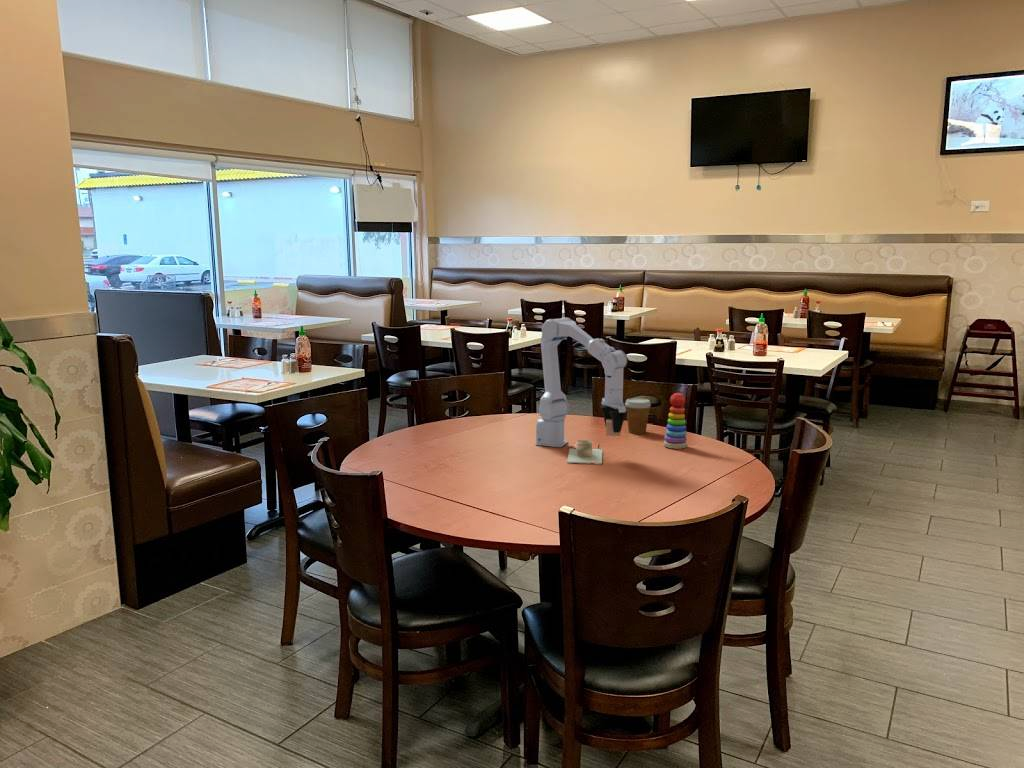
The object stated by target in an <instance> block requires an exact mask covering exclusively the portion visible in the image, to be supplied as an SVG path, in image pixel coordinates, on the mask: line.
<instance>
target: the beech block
mask: <svg viewBox="0 0 1024 768" xmlns="http://www.w3.org/2000/svg"><path fill="white" fill-rule="evenodd" d="M577 443H578V446H577V454H578V457H592V443H593V441H592V440H590V439H589V440H588V439H586V440H583V439H581V440H579V439H578V440H577Z"/></svg>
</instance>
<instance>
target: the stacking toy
mask: <svg viewBox="0 0 1024 768" xmlns="http://www.w3.org/2000/svg"><path fill="white" fill-rule="evenodd" d="M669 403H670V404H671V406H670V408H669V413H668V419H667V425H666V428H667V429H666V430H665V435H664V436H663V437H664V441H663V446H664V447H665V448H667V447H668V449H672V448H673V450H682V448H683V449H686V448H687V446H688V442H687V438H688V437H687V433H688V432H687V430H686V429H687V426H686V419H685V418H686V415H685V412H686V409H685V407H683V406H684V405H685V404H686V398H685V396H684V394H683V393H680V392H675V393H673V394H671V396H670V399H669Z"/></svg>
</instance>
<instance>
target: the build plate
mask: <svg viewBox="0 0 1024 768" xmlns="http://www.w3.org/2000/svg"><path fill="white" fill-rule="evenodd" d="M566 463H567V464H571V463H598V464H597V465H603V449H600V448H599V449H592V457H578V454H577V449H575V448H569V449H568V455H567V460H566Z"/></svg>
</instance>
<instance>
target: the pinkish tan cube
mask: <svg viewBox="0 0 1024 768" xmlns="http://www.w3.org/2000/svg"><path fill="white" fill-rule="evenodd" d="M605 436H607V437H621V432H616V433H615V432H614V431H613V423H612V419H606V426H605Z"/></svg>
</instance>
